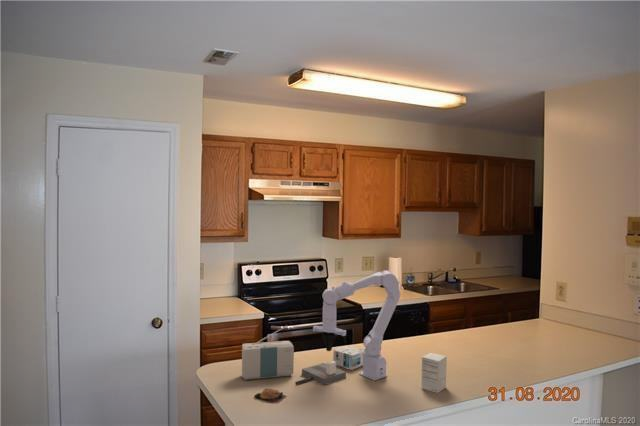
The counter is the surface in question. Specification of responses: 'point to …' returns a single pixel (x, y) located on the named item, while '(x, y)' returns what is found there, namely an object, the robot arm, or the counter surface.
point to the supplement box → (434, 372)
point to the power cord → (303, 380)
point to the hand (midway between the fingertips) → (329, 350)
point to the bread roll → (270, 396)
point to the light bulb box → (348, 357)
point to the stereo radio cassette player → (267, 359)
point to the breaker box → (323, 374)
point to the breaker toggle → (331, 367)
